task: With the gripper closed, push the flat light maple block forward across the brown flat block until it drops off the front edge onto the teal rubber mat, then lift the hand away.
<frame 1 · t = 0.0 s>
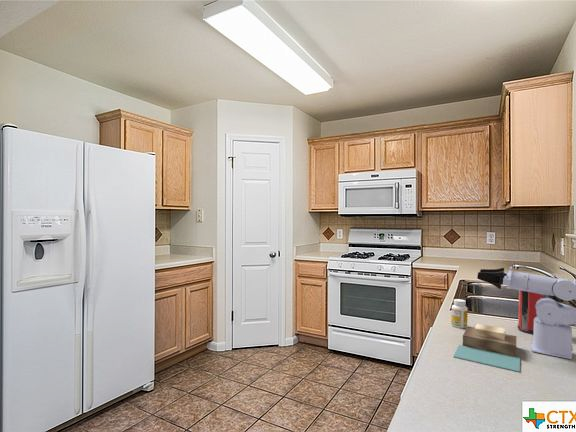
hand: (478, 273, 117), 22 cm above the countertop, tool horizontal, fingers open, 7 cm apart
supplement bottle: (459, 326, 129), on the countertop
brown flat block: (489, 346, 109), on the countertop
speaker: (530, 331, 125), on the countertop
mat: (486, 357, 100), on the countertop
maple block: (490, 334, 109), point 3 cm above the countertop, touching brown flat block
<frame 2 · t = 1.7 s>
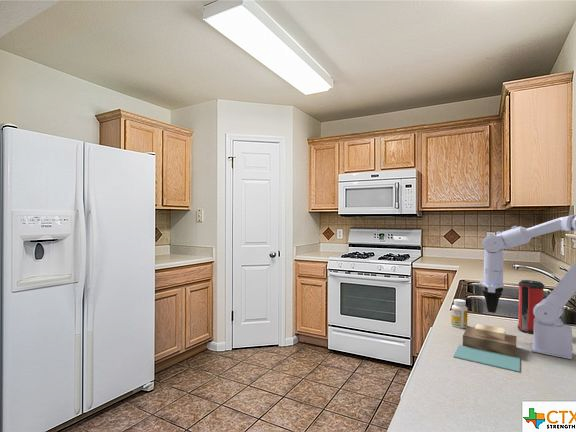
hand: (492, 310, 117), 9 cm above the countertop, tool pointing down, fingers open, 6 cm apart
nothing on the countertop moved.
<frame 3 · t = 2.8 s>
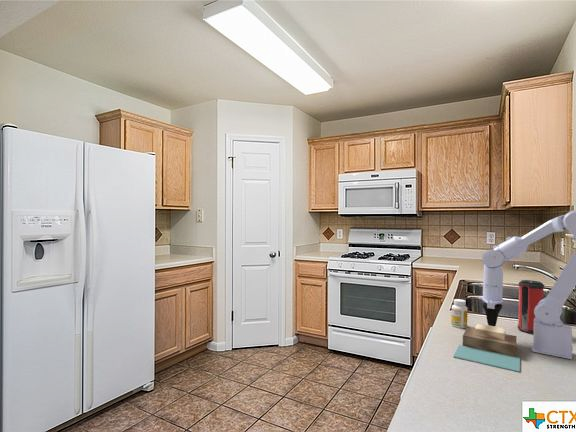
hand: (491, 325, 116), 4 cm above the countertop, tool pointing down, fingers closed
nothing on the countertop moved.
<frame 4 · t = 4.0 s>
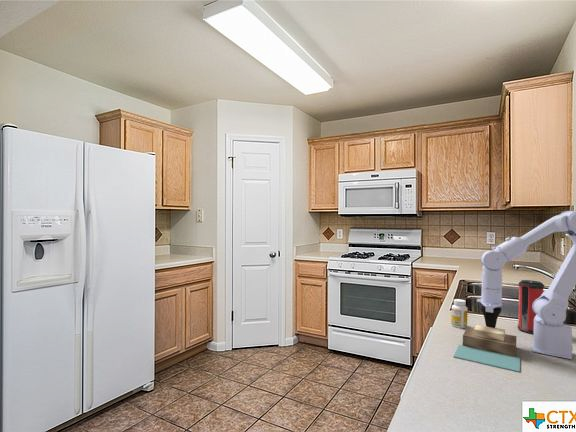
hand: (490, 329, 112), 4 cm above the countertop, tool pointing down, fingers closed
maple block: (489, 335, 108), point 4 cm above the countertop, touching gripper
everything else where it was.
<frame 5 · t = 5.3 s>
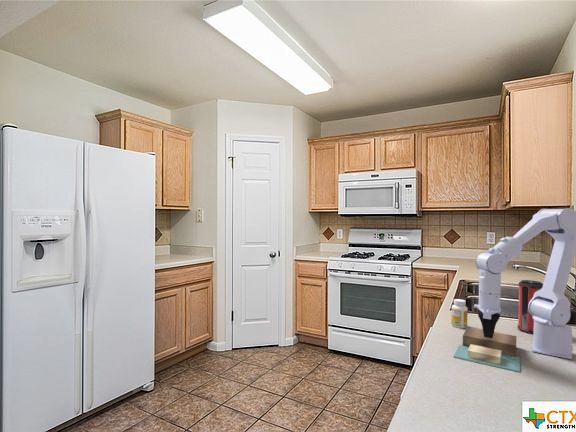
hand: (488, 337, 105), 4 cm above the countertop, tool pointing down, fingers closed
maple block: (484, 350, 99), point 2 cm above the countertop, tilted 180°, touching mat
everything else where it was.
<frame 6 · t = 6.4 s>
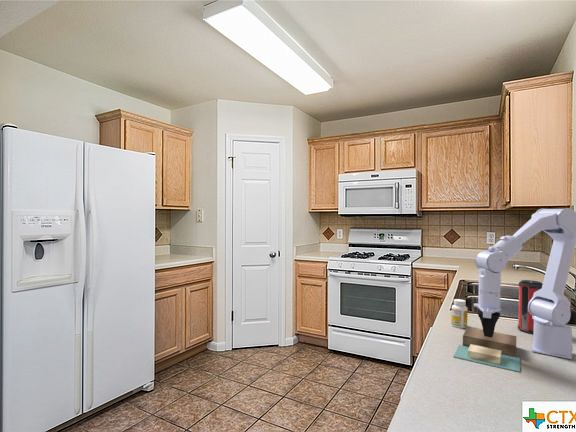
hand: (488, 336, 104), 5 cm above the countertop, tool pointing down, fingers closed
nothing on the countertop moved.
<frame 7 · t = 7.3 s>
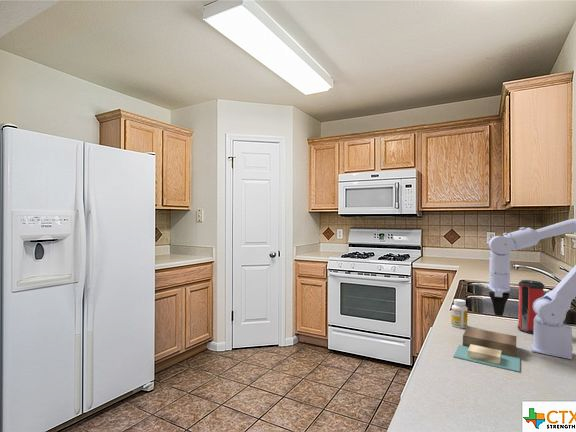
hand: (498, 315, 111), 9 cm above the countertop, tool pointing down, fingers closed
nothing on the countertop moved.
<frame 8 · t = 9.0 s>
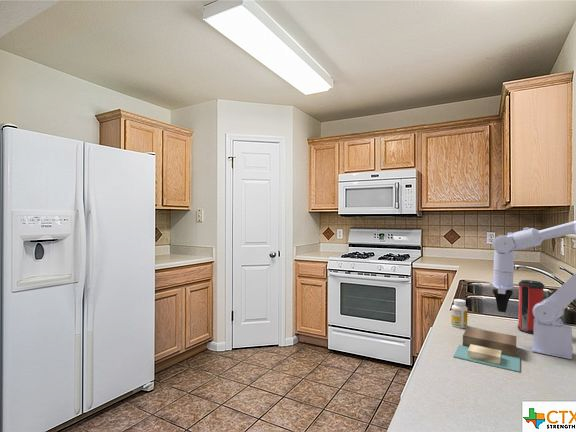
hand: (501, 311, 115), 9 cm above the countertop, tool pointing down, fingers closed
nothing on the countertop moved.
at the end: maple block inside the target area (0.8 cm from its centre), point 2.3 cm above the countertop; maple block touching mat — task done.
